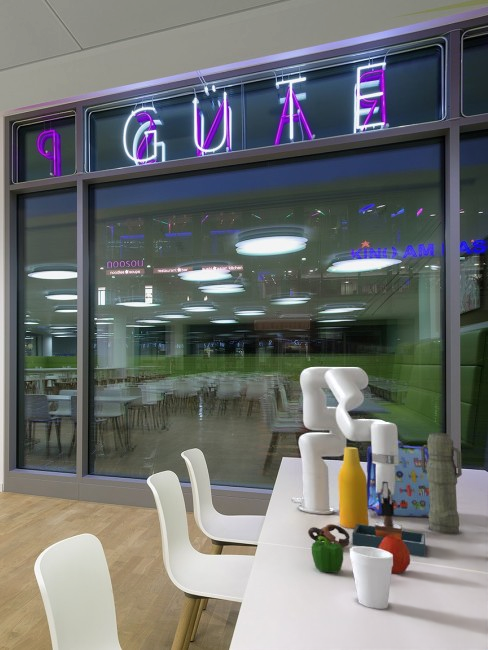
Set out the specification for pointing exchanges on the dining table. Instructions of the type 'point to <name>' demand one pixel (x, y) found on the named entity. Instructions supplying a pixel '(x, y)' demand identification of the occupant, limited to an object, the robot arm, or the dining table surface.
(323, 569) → the bell pepper
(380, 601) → the foam cup
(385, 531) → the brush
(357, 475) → the beer bottle
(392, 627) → the dining table surface
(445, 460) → the thermos
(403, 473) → the lunch bag
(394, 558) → the apple
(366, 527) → the tray
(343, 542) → the brown twisted loop
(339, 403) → the robot arm
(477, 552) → the dining table surface
